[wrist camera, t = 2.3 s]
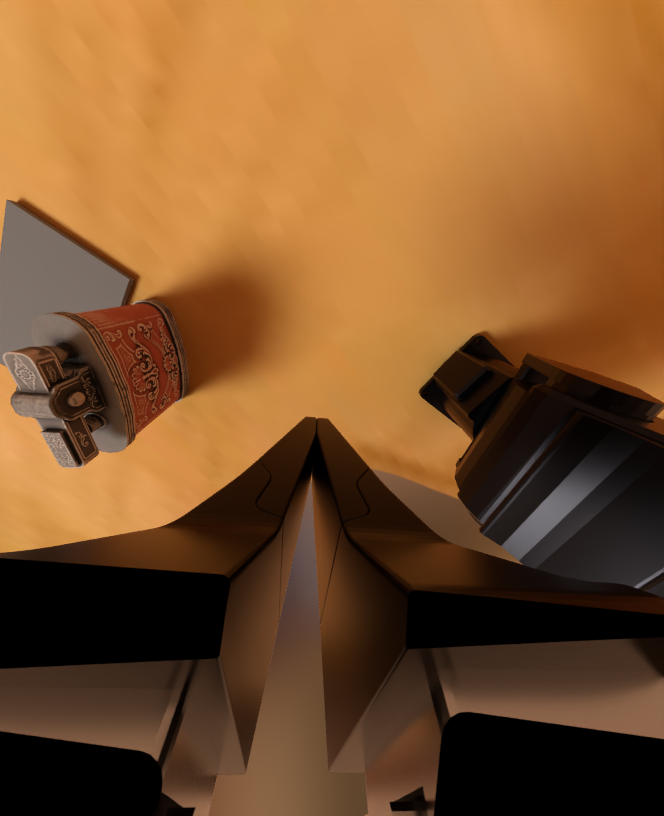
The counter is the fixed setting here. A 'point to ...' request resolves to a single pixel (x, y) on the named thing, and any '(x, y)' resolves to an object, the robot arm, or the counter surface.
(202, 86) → the counter surface
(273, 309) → the counter surface
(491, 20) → the counter surface
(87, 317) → the lighter
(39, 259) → the mat
